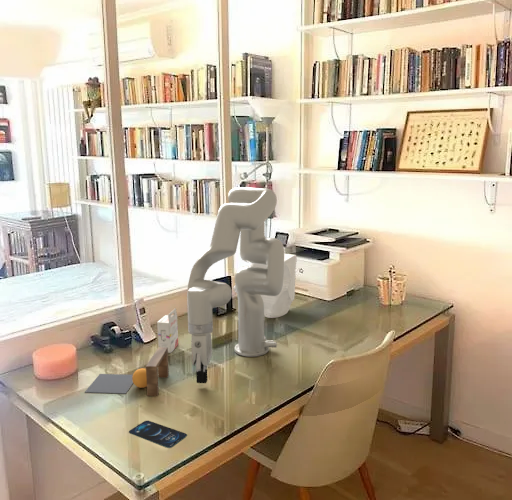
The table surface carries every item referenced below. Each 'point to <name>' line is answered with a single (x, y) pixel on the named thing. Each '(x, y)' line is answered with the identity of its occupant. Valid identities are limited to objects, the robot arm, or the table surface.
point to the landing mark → (111, 384)
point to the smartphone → (158, 434)
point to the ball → (140, 378)
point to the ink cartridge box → (168, 331)
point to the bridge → (156, 370)
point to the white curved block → (281, 302)
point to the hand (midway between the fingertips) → (202, 381)
